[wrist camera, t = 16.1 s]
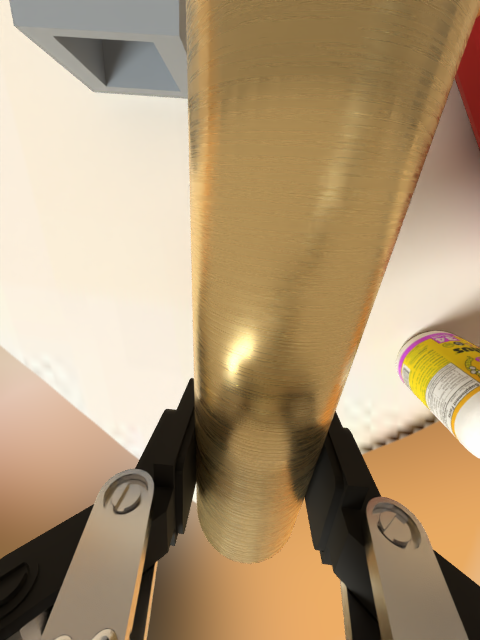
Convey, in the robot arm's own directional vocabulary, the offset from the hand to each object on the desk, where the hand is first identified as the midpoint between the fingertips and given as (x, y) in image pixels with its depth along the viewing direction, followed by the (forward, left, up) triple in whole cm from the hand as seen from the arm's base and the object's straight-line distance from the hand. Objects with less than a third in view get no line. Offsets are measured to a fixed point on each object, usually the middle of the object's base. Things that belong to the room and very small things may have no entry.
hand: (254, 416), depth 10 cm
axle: (0, -4, 0) cm, 4 cm away
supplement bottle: (-18, +4, -16) cm, 24 cm away
